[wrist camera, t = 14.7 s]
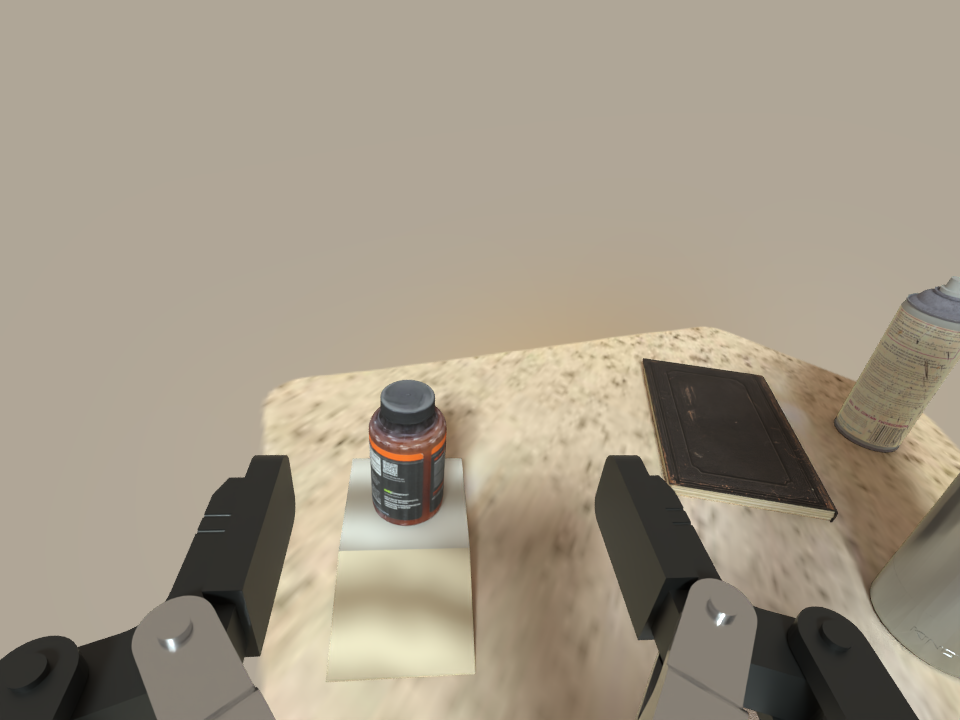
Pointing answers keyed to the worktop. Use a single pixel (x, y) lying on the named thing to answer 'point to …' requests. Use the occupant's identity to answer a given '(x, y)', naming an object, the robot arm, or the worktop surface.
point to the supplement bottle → (407, 454)
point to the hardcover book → (730, 441)
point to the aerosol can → (904, 370)
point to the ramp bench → (402, 589)
